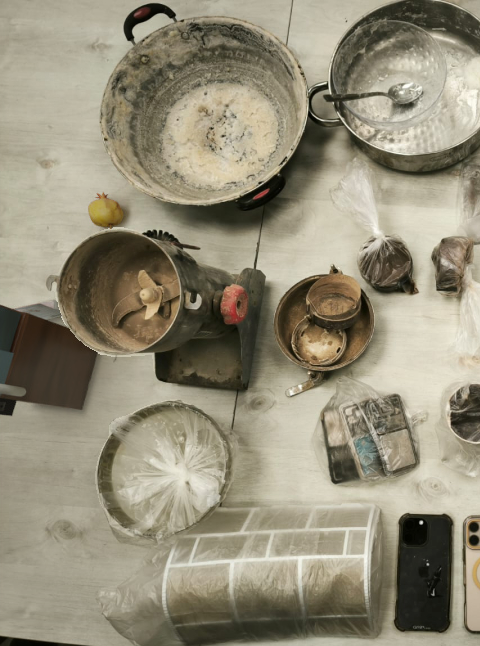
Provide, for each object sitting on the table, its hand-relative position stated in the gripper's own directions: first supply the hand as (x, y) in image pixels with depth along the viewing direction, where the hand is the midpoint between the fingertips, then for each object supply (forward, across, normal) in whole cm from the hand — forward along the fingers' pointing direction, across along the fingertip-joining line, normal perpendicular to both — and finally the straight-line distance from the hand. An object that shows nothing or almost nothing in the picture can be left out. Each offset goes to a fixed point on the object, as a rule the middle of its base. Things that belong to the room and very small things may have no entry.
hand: (10, 407), depth 92 cm
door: (+4, +3, -6) cm, 8 cm away
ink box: (+28, +20, -21) cm, 40 cm away
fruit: (+28, +11, -46) cm, 55 cm away
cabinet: (+28, +11, -9) cm, 31 cm away
